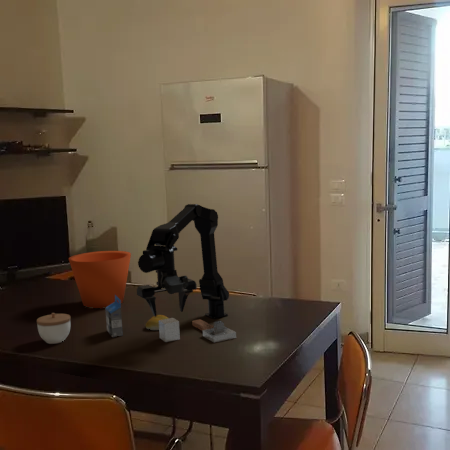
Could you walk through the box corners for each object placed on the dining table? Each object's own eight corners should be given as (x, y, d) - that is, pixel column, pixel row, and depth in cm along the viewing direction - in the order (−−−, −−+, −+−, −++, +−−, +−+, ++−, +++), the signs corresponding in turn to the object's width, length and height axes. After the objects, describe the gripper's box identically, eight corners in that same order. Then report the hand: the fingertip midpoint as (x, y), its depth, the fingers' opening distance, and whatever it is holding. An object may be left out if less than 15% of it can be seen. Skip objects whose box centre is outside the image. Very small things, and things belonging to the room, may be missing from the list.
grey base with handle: (186, 326, 203) (185, 312, 202) (206, 322, 206) (206, 308, 206) (214, 342, 184) (213, 327, 184) (236, 338, 188) (235, 323, 187)
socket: (159, 338, 191) (158, 320, 190) (173, 335, 193) (172, 317, 193) (165, 342, 187) (164, 323, 186) (179, 339, 189) (178, 321, 188)
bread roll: (143, 331, 200) (142, 319, 200) (151, 323, 209) (150, 312, 209) (166, 331, 199) (165, 320, 198) (173, 323, 208) (172, 312, 207)
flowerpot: (146, 299, 244) (143, 252, 242) (104, 314, 223) (100, 263, 221) (102, 293, 258) (99, 249, 255) (59, 307, 237) (55, 259, 235)
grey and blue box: (106, 330, 202) (103, 295, 201) (117, 329, 204) (115, 294, 202) (111, 337, 194) (109, 301, 192) (123, 335, 195) (121, 299, 194)
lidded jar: (54, 347, 186) (51, 319, 185) (31, 343, 192) (29, 315, 191) (79, 338, 195) (76, 310, 194) (56, 334, 201) (54, 307, 200)
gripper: (147, 274, 176) (150, 325, 178) (203, 266, 184) (205, 314, 186) (134, 269, 185) (137, 316, 187) (188, 261, 194) (190, 307, 196)
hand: (168, 314), depth 189 cm, fingers open, 9 cm apart
